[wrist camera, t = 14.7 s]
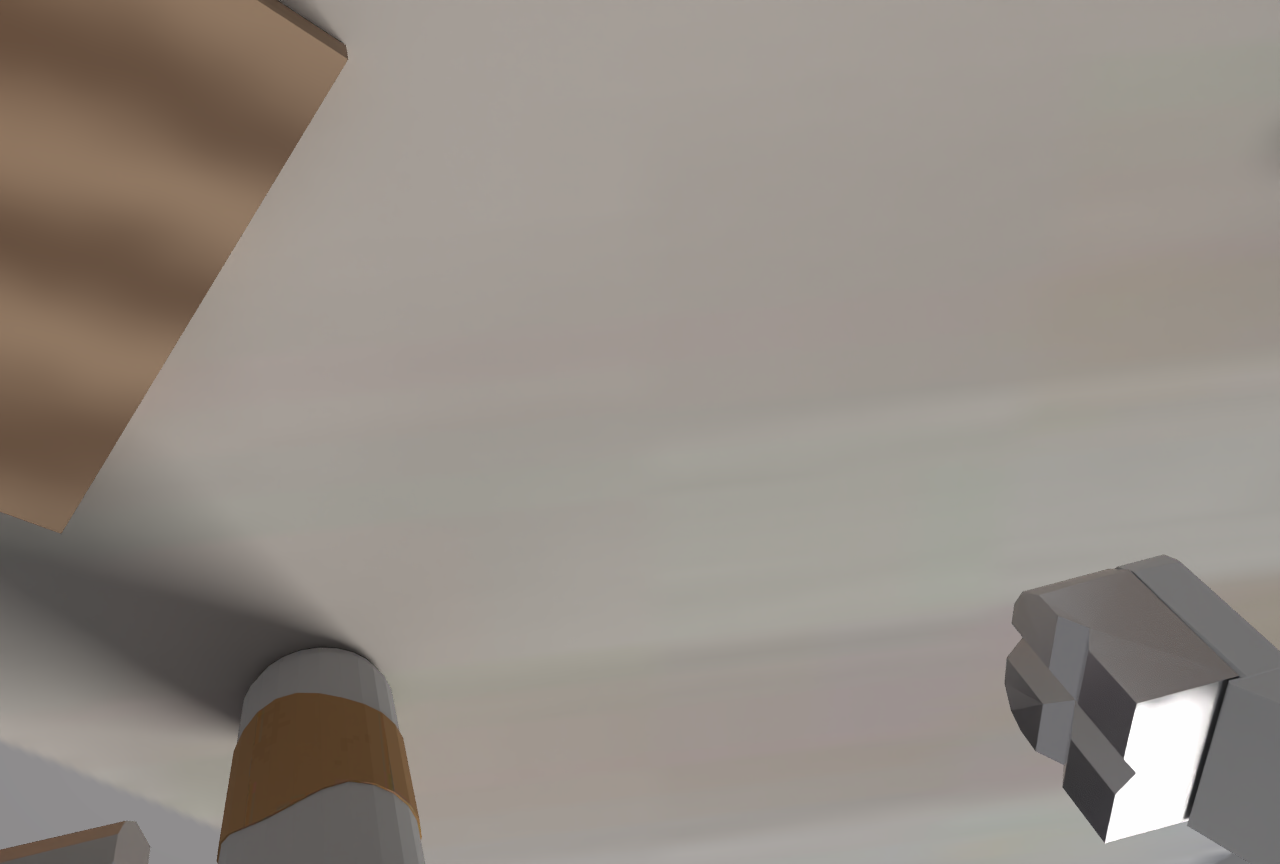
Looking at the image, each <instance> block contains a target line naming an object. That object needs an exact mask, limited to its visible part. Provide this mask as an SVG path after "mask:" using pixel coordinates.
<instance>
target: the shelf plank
mask: <svg viewBox="0 0 1280 864" xmlns="http://www.w3.org/2000/svg"><path fill="white" fill-rule="evenodd" d="M347 60H348V56H347V49H346V45H344V44H343V43H341V42H340V41H338V40H337V39H335V38H334V37H332V36H331V35H329V34H328V33H326V32H325V31H323V30H321V29H320V28H318V27H317V26H315V25H314V24H312V23H311V22H309V21H308V20H306V19H305V18H303V17H302V16H300V15H299V14H297V13H296V12H294V11H292V10H291V9H289V8H288V7H286V6H285V5H283V4H282V3H280V2H279V1H277V0H0V512H2V513H5V514H8V515H11V516H13V517H16V518H19V519H22V520H24V521H27V522H30V523H33V524H36V525H38V526H41V527H44V528H47V529H49V530H52V531H55V532H58V533H60V534H61V533H62V531H63V530H64V528H65V527H66V525H67V523H68V522H69V520H70V518H71V517H72V515H73V513H74V512H75V510H76V508H77V507H78V505H79V503H80V502H81V500H82V498H83V497H84V495H85V493H86V492H87V490H88V489H89V487H90V485H91V484H92V482H93V480H94V479H95V477H96V475H97V474H98V472H99V470H100V469H101V467H102V465H103V464H104V462H105V460H106V459H107V457H108V455H109V454H110V452H111V450H112V449H113V447H114V446H115V444H116V442H117V441H118V439H119V437H120V436H121V434H122V432H123V431H124V429H125V427H126V426H127V424H128V422H129V421H130V419H131V417H132V416H133V414H134V412H135V411H136V409H137V408H138V406H139V404H140V403H141V401H142V399H143V398H144V396H145V394H146V393H147V391H148V389H149V388H150V386H151V384H152V383H153V381H154V379H155V378H156V376H157V374H158V373H159V371H160V369H161V368H162V366H163V365H164V363H165V361H166V360H167V358H168V356H169V355H170V353H171V351H172V350H173V348H174V346H175V345H176V343H177V341H178V340H179V338H180V336H181V335H182V333H183V331H184V330H185V328H186V327H187V325H188V323H189V322H190V320H191V318H192V317H193V315H194V313H195V312H196V310H197V308H198V307H199V305H200V303H201V302H202V300H203V298H204V297H205V295H206V293H207V292H208V290H209V288H210V287H211V285H212V284H213V282H214V280H215V279H216V277H217V275H218V274H219V272H220V270H221V269H222V267H223V265H224V264H225V262H226V260H227V259H228V257H229V255H230V254H231V252H232V250H233V249H234V247H235V245H236V244H237V242H238V241H239V239H240V237H241V236H242V234H243V232H244V231H245V229H246V227H247V226H248V224H249V222H250V221H251V219H252V217H253V216H254V214H255V212H256V211H257V209H258V207H259V206H260V204H261V203H262V201H263V199H264V198H265V196H266V194H267V193H268V191H269V189H270V188H271V186H272V184H273V183H274V181H275V179H276V178H277V176H278V174H279V173H280V171H281V169H282V168H283V166H284V164H285V163H286V161H287V160H288V158H289V156H290V155H291V153H292V151H293V150H294V148H295V146H296V145H297V143H298V141H299V140H300V138H301V136H302V135H303V133H304V131H305V130H306V128H307V126H308V125H309V123H310V122H311V120H312V118H313V117H314V115H315V113H316V112H317V110H318V108H319V107H320V105H321V103H322V102H323V100H324V98H325V97H326V95H327V93H328V92H329V90H330V88H331V87H332V85H333V83H334V82H335V80H336V79H337V77H338V75H339V74H340V72H341V70H342V69H343V67H344V65H345V64H346V62H347Z"/></svg>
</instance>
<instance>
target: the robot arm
mask: <svg viewBox="0 0 1280 864" xmlns="http://www.w3.org/2000/svg"><path fill="white" fill-rule="evenodd" d="M1012 625H1013V626H1014V627H1015V628H1016V630H1017V631H1018V632H1019V633H1020V634H1021V636H1022V637H1023V638H1022V639H1021V640H1020V642H1019V643H1018V644H1017V645H1016V647H1015V648H1014V649H1013V650H1012V652H1011V653H1010V654H1009V655H1008V657H1007V661H1006V673H1005V687H1006V691H1007V696H1008V700H1009V704H1010V708H1011V711H1012V713H1013V716H1014V718H1015V720H1016V722H1017V724H1018V726H1019V728H1020V730H1021V731H1022V733H1023V734H1024V736H1025V737H1026V738H1027V740H1028V741H1029V743H1030V744H1031V745H1032V747H1033V748H1034V750H1035V751H1036V752H1038V753H1040V754H1042V755H1045V756H1047V757H1049V758H1051V759H1053V760H1055V761H1057V762H1059V763H1061V764H1063V765H1064V768H1063V789H1064V790H1065V791H1066V792H1067V794H1068V795H1069V796H1070V798H1071V799H1072V800H1073V802H1074V803H1075V804H1076V806H1077V807H1078V808H1079V810H1080V811H1081V812H1082V814H1083V815H1084V816H1085V818H1086V819H1087V820H1088V822H1089V823H1090V824H1091V826H1092V827H1093V828H1094V829H1095V831H1096V832H1097V833H1098V835H1099V836H1100V837H1101V839H1102V840H1103V841H1104V843H1107V842H1111V841H1114V840H1118V839H1122V838H1125V837H1129V836H1133V835H1137V834H1140V833H1144V832H1148V831H1151V830H1155V829H1159V828H1162V827H1166V826H1170V825H1173V824H1177V823H1181V822H1184V821H1188V820H1189V821H1188V824H1187V826H1189V827H1190V828H1192V829H1194V830H1195V831H1197V832H1199V833H1200V834H1202V835H1204V836H1205V837H1207V838H1209V839H1210V840H1212V841H1214V842H1215V843H1217V844H1219V845H1220V846H1222V847H1224V848H1225V849H1227V850H1229V851H1230V852H1232V853H1234V854H1235V855H1237V856H1238V857H1240V858H1242V859H1243V860H1245V861H1247V862H1249V863H1250V864H1280V651H1279V650H1278V649H1277V648H1276V647H1275V646H1274V645H1272V644H1271V643H1270V642H1269V641H1268V640H1267V639H1266V638H1265V637H1264V636H1262V635H1261V634H1260V633H1259V632H1258V631H1257V630H1256V629H1255V628H1254V627H1252V626H1251V625H1250V624H1249V623H1248V622H1247V621H1246V620H1245V619H1244V618H1242V617H1241V616H1240V615H1239V614H1238V613H1237V612H1236V611H1235V610H1233V609H1232V608H1231V607H1230V606H1229V605H1228V604H1227V603H1226V602H1225V601H1223V600H1222V599H1221V598H1220V597H1219V596H1218V595H1217V594H1216V593H1215V592H1213V591H1212V590H1211V589H1210V588H1209V587H1208V586H1207V585H1206V584H1205V583H1203V582H1202V581H1201V580H1200V579H1199V578H1198V577H1197V576H1196V575H1194V574H1193V573H1192V572H1191V571H1190V570H1189V569H1188V568H1187V567H1186V566H1184V565H1183V564H1182V563H1181V562H1180V561H1178V560H1177V559H1174V558H1171V557H1169V556H1166V555H1160V556H1156V557H1153V558H1149V559H1145V560H1141V561H1137V562H1134V563H1130V564H1126V565H1122V566H1118V567H1116V568H1115V569H1106V570H1102V571H1099V572H1095V573H1091V574H1087V575H1084V576H1080V577H1076V578H1072V579H1069V580H1065V581H1061V582H1057V583H1054V584H1050V585H1046V586H1042V587H1039V588H1035V589H1031V590H1027V591H1024V592H1022V593H1021V595H1020V596H1019V598H1018V599H1017V601H1016V602H1015V604H1014V611H1013V617H1012ZM149 852H150V845H149V844H148V842H147V840H146V838H145V836H144V835H143V833H142V831H141V829H140V828H139V826H138V824H137V822H134V821H123V822H119V823H115V824H110V825H106V826H101V827H97V828H93V829H88V830H84V831H80V832H75V833H71V834H67V835H62V836H58V837H54V838H49V839H45V840H41V841H36V842H32V843H27V844H23V845H19V846H15V847H10V848H6V849H1V850H0V864H148V859H149Z"/></svg>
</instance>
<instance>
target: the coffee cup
mask: <svg viewBox="0 0 1280 864" xmlns="http://www.w3.org/2000/svg"><path fill="white" fill-rule="evenodd" d="M421 838H422V836H421V829H420V821H419V816H418V811H417V806H416V801H415V796H414V791H413V786H412V781H411V776H410V771H409V766H408V761H407V756H406V751H405V746H404V741H403V737H402V735H401V734H400V731H399V726H398V721H397V716H396V710H395V705H394V700H393V695H392V690H391V687H390V685H389V683H388V682H387V680H386V678H385V676H384V675H383V674H382V673H381V672H380V671H379V670H378V669H377V668H376V667H375V666H374V665H373V664H371V663H370V662H369V661H368V660H367V659H365V658H363V657H361V656H359V655H357V654H356V653H354V652H350V651H346V650H342V649H338V648H313V649H307V650H300V651H298V652H295V653H292V654H290V655H287V656H284V657H282V658H281V659H279V660H278V661H276V662H274V663H273V664H271V665H270V666H268V667H267V669H266V670H265V671H264V672H263V673H262V674H261V675H260V676H259V677H258V678H257V680H256V681H255V682H254V683H253V684H252V685H251V686H250V688H249V690H248V692H247V694H246V696H245V698H244V701H243V708H242V714H241V720H240V727H239V733H238V740H237V745H236V747H235V750H234V753H233V759H232V766H231V772H230V778H229V784H228V791H227V797H226V803H225V809H224V816H223V822H222V828H221V835H220V841H219V848H218V855H217V863H218V864H425V860H424V854H423V849H422V844H421Z"/></svg>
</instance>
